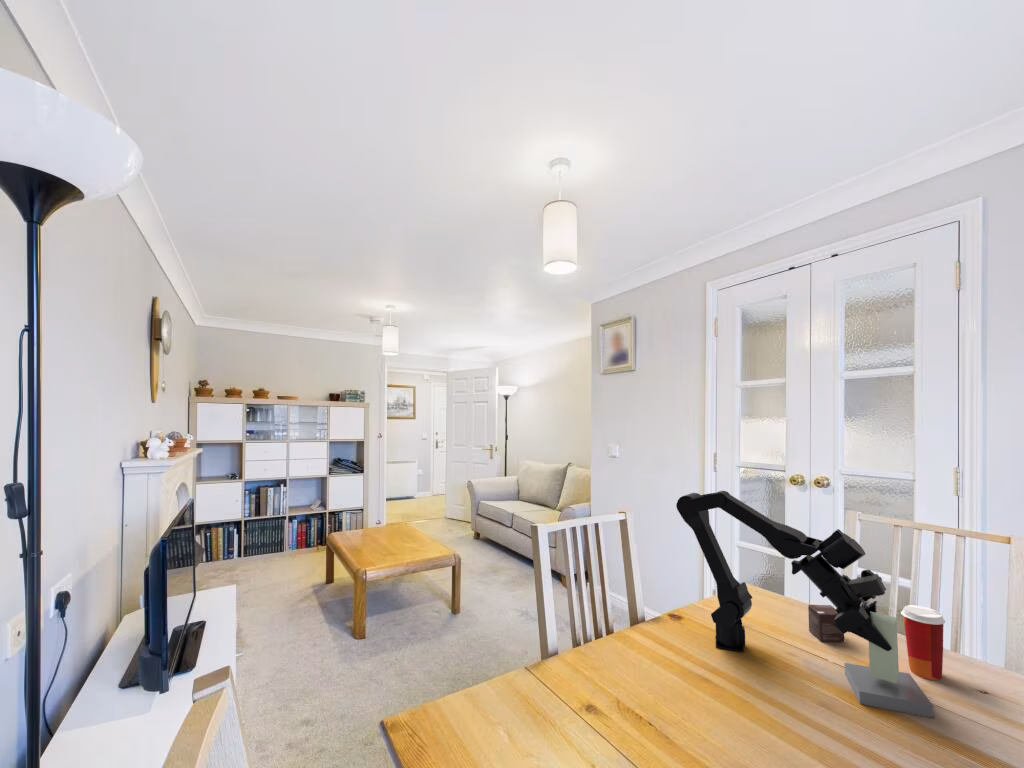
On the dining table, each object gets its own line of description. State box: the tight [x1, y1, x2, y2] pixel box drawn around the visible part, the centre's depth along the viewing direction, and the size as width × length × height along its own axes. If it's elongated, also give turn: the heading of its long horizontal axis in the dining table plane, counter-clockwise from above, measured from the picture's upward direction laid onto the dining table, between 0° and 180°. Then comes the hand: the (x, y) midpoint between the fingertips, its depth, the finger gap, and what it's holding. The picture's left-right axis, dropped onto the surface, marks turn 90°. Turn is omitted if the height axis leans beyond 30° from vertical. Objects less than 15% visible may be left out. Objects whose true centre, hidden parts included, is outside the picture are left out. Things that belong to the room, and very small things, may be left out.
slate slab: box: [844, 662, 934, 718], centre depth 102 cm, size 12×12×2 cm
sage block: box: [868, 612, 900, 684], centre depth 102 cm, size 4×4×12 cm
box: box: [807, 604, 845, 643], centre depth 127 cm, size 6×6×7 cm
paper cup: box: [900, 604, 946, 681], centre depth 110 cm, size 8×8×14 cm
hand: (891, 645), depth 101 cm, fingers closed on sage block, 4 cm apart
